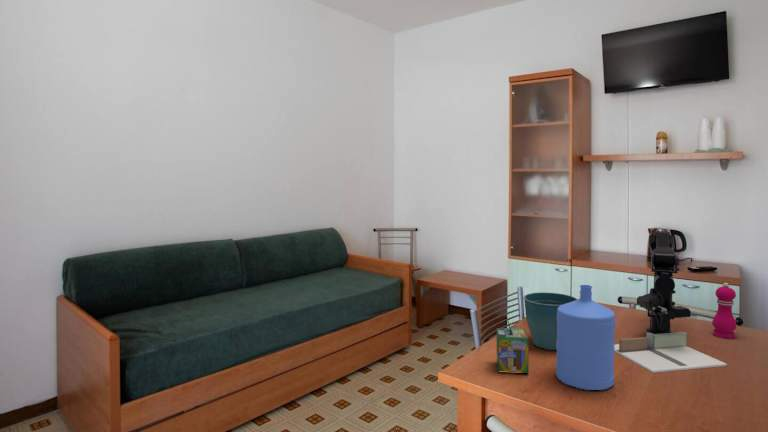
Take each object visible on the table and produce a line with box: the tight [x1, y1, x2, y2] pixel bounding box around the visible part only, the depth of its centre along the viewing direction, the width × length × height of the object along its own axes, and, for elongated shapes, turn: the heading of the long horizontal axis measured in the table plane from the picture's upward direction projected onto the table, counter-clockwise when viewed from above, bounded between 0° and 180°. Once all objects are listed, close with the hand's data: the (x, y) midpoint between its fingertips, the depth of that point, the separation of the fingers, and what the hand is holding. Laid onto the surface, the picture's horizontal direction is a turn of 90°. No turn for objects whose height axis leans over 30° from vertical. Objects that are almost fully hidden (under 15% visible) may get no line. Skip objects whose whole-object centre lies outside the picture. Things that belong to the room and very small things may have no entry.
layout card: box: [614, 331, 728, 374], centre depth 150 cm, size 22×26×6 cm
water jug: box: [555, 284, 616, 391], centre depth 132 cm, size 16×16×28 cm
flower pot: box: [523, 291, 578, 351], centre depth 161 cm, size 18×18×17 cm
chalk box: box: [495, 319, 530, 373], centre depth 142 cm, size 9×9×15 cm
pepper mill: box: [711, 282, 738, 340], centre depth 167 cm, size 7×7×20 cm
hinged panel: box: [653, 331, 688, 348], centre depth 156 cm, size 12×2×4 cm, turn 100°
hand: (661, 329), depth 161 cm, fingers closed
